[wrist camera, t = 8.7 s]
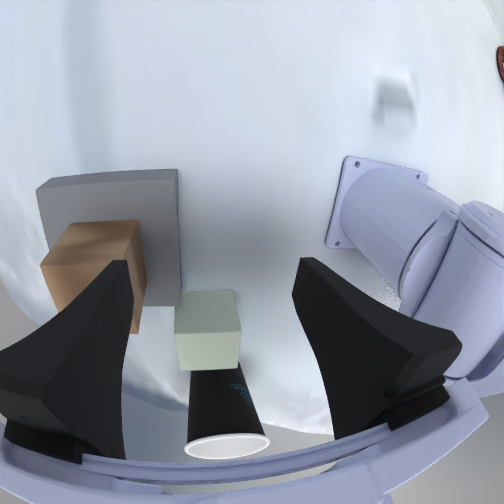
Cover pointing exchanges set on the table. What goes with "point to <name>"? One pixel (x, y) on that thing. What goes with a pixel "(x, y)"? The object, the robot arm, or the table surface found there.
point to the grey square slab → (123, 218)
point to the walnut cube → (95, 261)
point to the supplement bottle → (501, 61)
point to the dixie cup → (222, 416)
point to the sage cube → (207, 330)
